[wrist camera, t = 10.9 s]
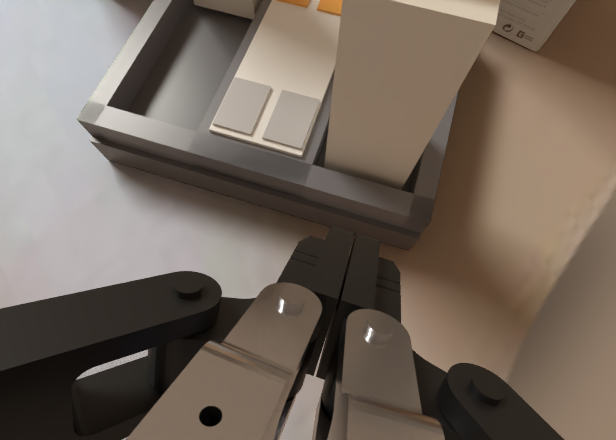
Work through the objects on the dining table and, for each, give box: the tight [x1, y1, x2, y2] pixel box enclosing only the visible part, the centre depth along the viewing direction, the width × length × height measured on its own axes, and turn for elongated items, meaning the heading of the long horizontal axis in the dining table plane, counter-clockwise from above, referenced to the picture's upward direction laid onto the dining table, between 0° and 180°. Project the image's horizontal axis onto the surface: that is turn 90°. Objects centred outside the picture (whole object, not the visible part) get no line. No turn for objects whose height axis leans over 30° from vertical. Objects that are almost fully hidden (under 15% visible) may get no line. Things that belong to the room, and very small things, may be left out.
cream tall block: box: [324, 0, 500, 190], centre depth 14 cm, size 3×4×11 cm
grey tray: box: [77, 0, 458, 250], centre depth 22 cm, size 16×18×4 cm
